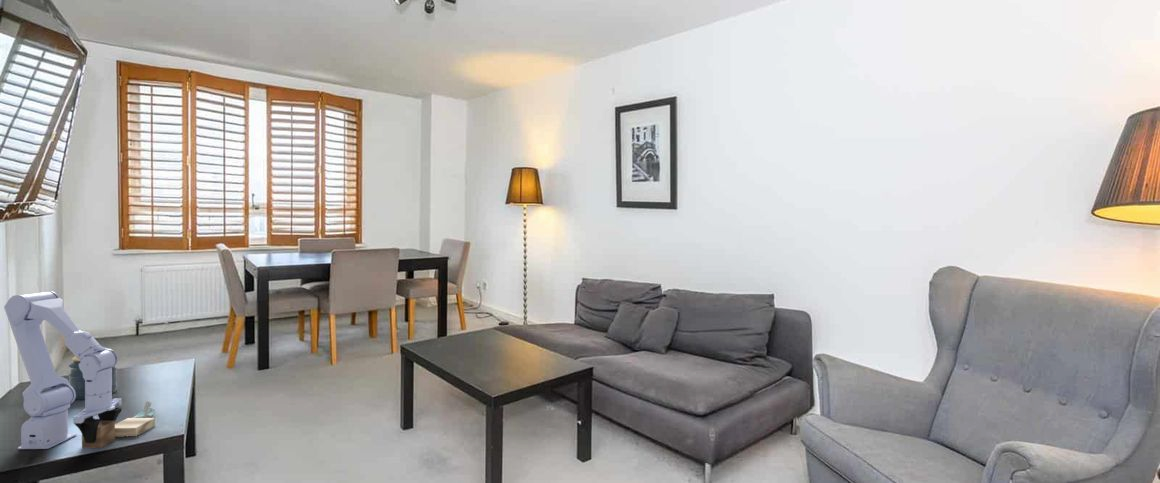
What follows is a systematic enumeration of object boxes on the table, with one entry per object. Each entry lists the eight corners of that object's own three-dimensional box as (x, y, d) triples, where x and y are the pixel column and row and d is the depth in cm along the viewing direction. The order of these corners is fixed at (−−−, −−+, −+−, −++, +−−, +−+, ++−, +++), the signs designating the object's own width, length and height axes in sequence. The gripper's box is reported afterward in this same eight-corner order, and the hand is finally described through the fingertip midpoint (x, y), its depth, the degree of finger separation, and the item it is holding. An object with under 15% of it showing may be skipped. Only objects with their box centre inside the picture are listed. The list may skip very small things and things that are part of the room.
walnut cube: (101, 447, 147) (100, 427, 147) (82, 448, 147) (81, 427, 147) (114, 440, 152) (114, 420, 152) (96, 440, 152) (96, 420, 152)
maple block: (135, 437, 155) (135, 428, 155) (107, 438, 154) (107, 428, 154) (154, 427, 163) (154, 417, 163) (127, 427, 162) (127, 418, 162)
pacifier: (128, 425, 163) (152, 421, 166) (127, 406, 163) (151, 402, 166) (132, 417, 169) (156, 414, 173) (132, 399, 169) (155, 395, 172)
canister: (90, 401, 181) (90, 352, 181) (58, 398, 183) (58, 350, 182) (126, 389, 194) (126, 343, 194) (96, 387, 196) (96, 341, 195)
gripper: (92, 401, 142) (92, 448, 143) (132, 384, 157) (132, 427, 157) (64, 401, 141) (65, 449, 142) (107, 384, 156) (107, 428, 156)
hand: (98, 438), depth 149 cm, fingers open, 5 cm apart
